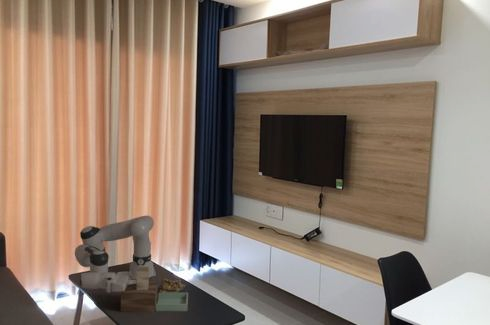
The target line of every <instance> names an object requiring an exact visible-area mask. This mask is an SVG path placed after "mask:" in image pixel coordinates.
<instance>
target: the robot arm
mask: <svg viewBox="0 0 490 325" xmlns="http://www.w3.org/2000/svg"><path fill="white" fill-rule="evenodd" d="M154 222H155V220H154V218H153V217H152V216H151V215H142V216H138V217H135V218H131V219H128V220H124V221H120V222H115V223H110V224H107V225H104V226H101V227H97V226H93V225H89V226H86V227H84V228H82V229H81V231H80V233H79V235H80V236H79V237H80V238H81V242H82V243H81V244H80V245H77V246H76V248H75V250H74V256H75V260H76V261H77V263H78V264H79V265H80V266H81V267H83V268H89V271H88V272H81V274H80V275H79V276H80V277H79V285H80V288H82V289H86V290H90V289H91V290H98V289H101V290H105V291H106V293H113V292H115V293H116V292H117V293H118V292H119V293H122V291H125V289H126V287H127V285H130V284H136V283H137V268H138V266H149V278H151V277H155V276H156V275H157V274H156V270H155V267H154V262H153V260H152V254H151V252H152V251H151V250H152V247H151V246H152V244H151V243H152V242H151V240H150V231H151V230H153V228H154ZM131 237H132V242H133V254H132V258H131V259H132V261H131V262H130V263H129V271H118V272H113V271H112V272H111V271H109V257H110V256H109V254H108V252H106V246H104V242H113V241H118V240H124V239H128V238H131Z"/></svg>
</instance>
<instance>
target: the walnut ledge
mask: <svg viewBox="0 0 490 325" xmlns="http://www.w3.org/2000/svg"><path fill="white" fill-rule="evenodd" d="M158 293H159V283H158V282H149V287H148V290H137V282H136V284H130V285H127V287H126V289H125V291H121V292H120V313H122V312H123V313H138V312H139V313H140V312H141V313H149V312H150V313H153V312H154V313H155V312H156V304H157V302H158Z"/></svg>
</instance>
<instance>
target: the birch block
mask: <svg viewBox="0 0 490 325" xmlns="http://www.w3.org/2000/svg"><path fill="white" fill-rule="evenodd" d="M149 280H150V277H149V266H138V268H137V282H136V283H137V290H148V287H149V283H150V281H149Z"/></svg>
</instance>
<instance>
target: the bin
mask: <svg viewBox="0 0 490 325" xmlns="http://www.w3.org/2000/svg"><path fill="white" fill-rule="evenodd" d="M188 301H189V292H178V293H161V292H158V299H157V304H156V308H155V312H156V313H157V312H158V313H160V312H161V313H162V312H163V313H164V312H171V313H173V312H177V313H178V312H188V309H189V308H188V306H189V305H188V303H189V302H188Z"/></svg>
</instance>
